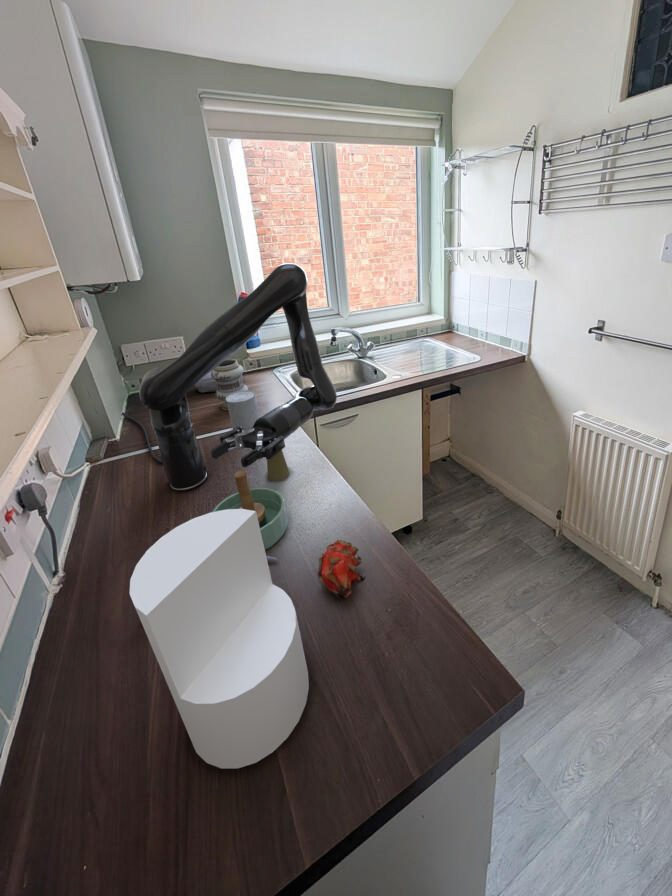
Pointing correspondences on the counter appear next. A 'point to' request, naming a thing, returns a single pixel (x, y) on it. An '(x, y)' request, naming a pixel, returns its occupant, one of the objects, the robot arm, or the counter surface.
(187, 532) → the stepped white drum
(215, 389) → the grey rounded bag
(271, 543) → the bowl
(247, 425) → the white canister
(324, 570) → the dragon fruit
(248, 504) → the dish brush
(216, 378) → the apothecary jar
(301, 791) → the counter surface
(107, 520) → the counter surface
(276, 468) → the olive green tapered cone
